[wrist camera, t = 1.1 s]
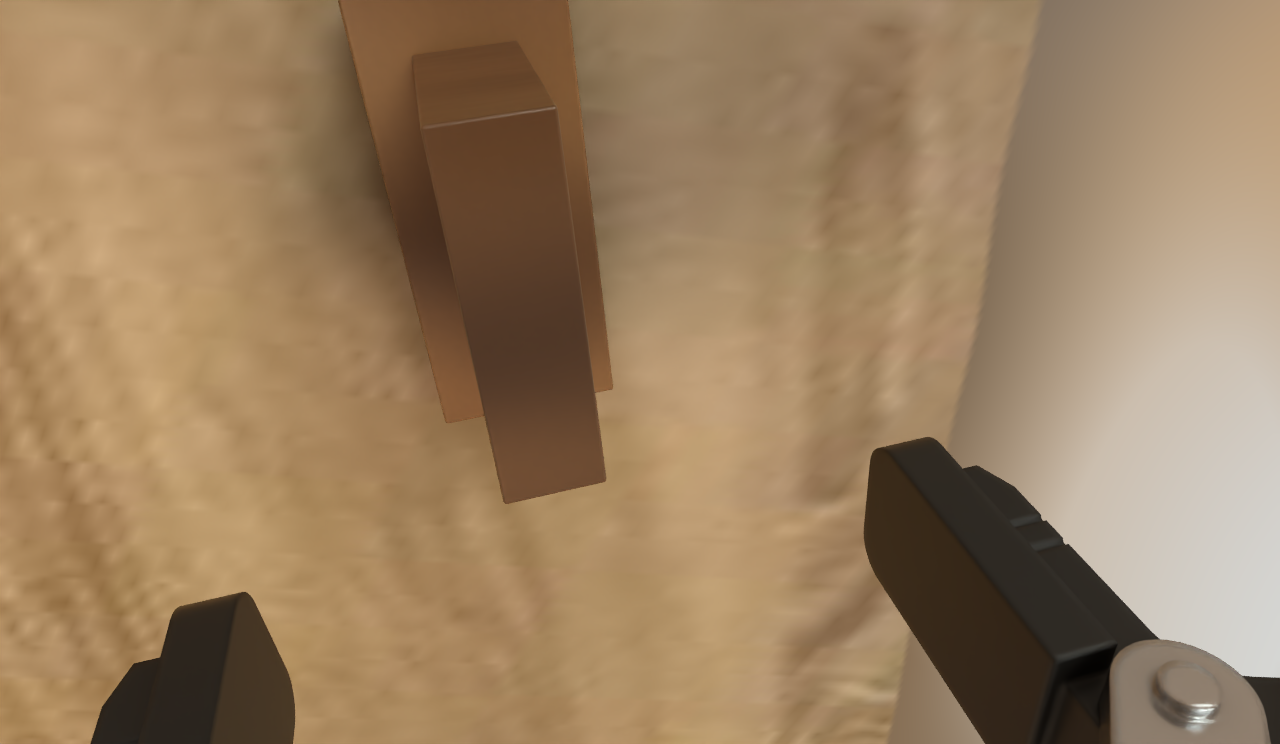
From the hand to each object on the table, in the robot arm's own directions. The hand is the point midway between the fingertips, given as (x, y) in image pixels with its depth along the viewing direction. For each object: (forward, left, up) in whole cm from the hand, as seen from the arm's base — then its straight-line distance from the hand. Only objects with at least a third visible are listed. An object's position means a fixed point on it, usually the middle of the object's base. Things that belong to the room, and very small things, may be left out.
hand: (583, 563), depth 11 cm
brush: (0, 0, -13) cm, 13 cm away
